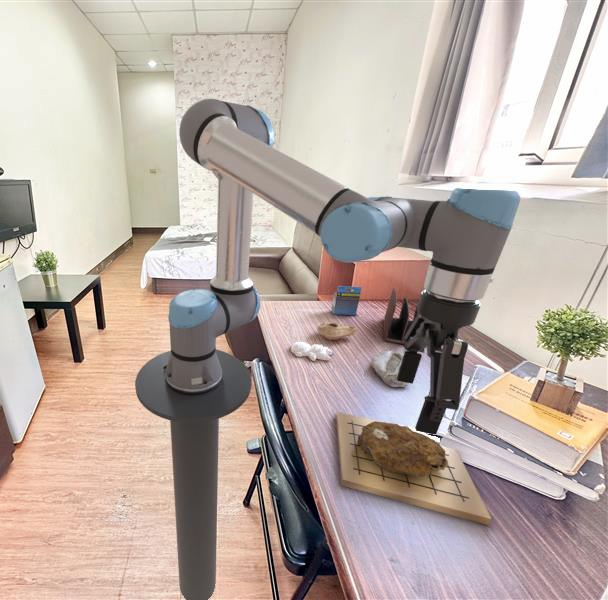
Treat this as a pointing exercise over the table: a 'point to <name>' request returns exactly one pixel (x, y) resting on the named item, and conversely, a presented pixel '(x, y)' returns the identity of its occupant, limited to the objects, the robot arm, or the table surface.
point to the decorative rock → (402, 449)
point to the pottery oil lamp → (335, 330)
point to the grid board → (408, 476)
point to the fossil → (388, 367)
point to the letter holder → (397, 321)
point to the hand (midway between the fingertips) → (413, 403)
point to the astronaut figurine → (311, 351)
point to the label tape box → (346, 301)
